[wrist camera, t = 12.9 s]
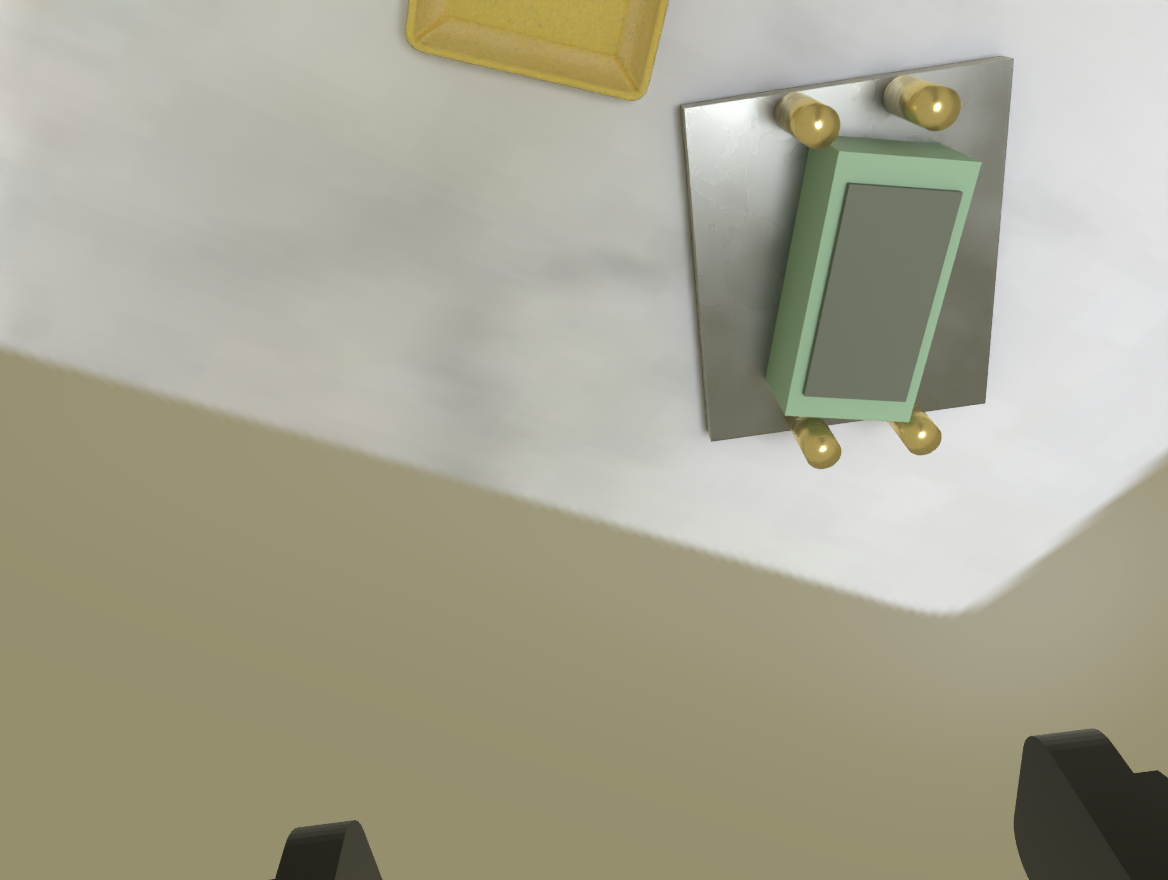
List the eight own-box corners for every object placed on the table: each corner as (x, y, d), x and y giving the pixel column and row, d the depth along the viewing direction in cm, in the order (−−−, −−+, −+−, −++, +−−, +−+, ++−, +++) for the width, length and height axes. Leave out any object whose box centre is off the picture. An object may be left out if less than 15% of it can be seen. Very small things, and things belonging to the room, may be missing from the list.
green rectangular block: (811, 133, 33) (841, 152, 30) (942, 143, 34) (985, 163, 30) (765, 379, 38) (786, 419, 35) (879, 385, 38) (911, 425, 35)
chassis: (680, 104, 34) (698, 123, 30) (1001, 56, 33) (1063, 68, 29) (707, 431, 40) (725, 482, 36) (975, 393, 40) (1023, 441, 36)
